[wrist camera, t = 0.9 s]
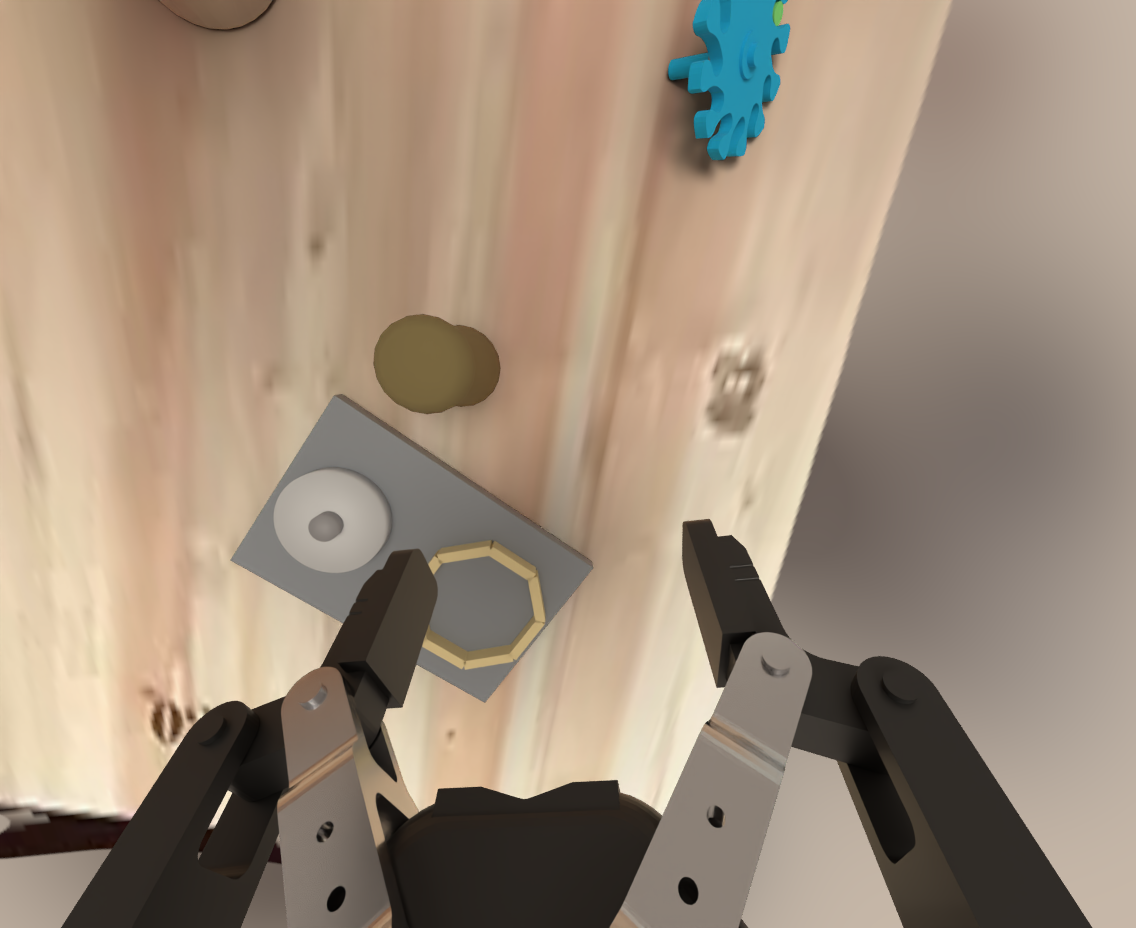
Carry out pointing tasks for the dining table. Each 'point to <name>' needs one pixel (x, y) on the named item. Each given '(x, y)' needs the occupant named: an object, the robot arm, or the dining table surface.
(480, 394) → the cork
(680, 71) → the blue irregular piece
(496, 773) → the dining table surface
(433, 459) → the board
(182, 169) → the dining table surface
